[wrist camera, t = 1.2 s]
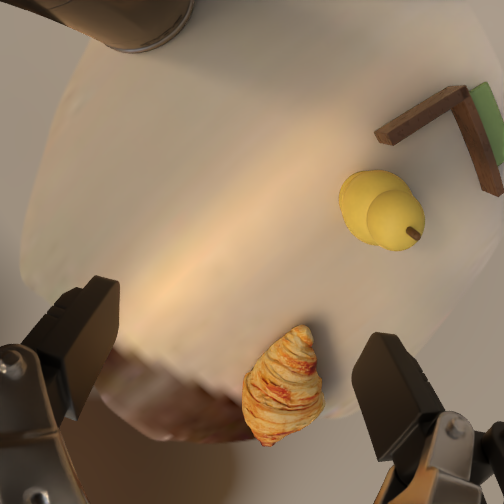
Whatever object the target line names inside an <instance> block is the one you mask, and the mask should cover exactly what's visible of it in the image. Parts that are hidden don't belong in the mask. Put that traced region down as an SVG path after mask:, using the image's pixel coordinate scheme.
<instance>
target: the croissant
mask: <svg viewBox="0 0 504 504" xmlns="http://www.w3.org/2000/svg"><path fill="white" fill-rule="evenodd" d="M312 345H313V337H312V334H311V331H310V329H309V328H308V327H306V326H305V325H299V326H296V327H294V328H292V330H291V331H290V332H288V333H286V335H285V336H284V337H282V338H281V339H279V340H278V341H276V342H275V343H274V344H273V345H272V346H271V347H270V348H269V349H268V350H267V351H266V352H265V353H264V354H263V355H262V356H261V357H260V358H259V359H258V361H257V363H256V365H255V366H254V368H253V370H252V372H248V373H247V374H246V375H245V377H244V381H243V391H242V411H243V414H244V417H245V421H246V423H247V425H248V426H249V427H250V428H251V430H252V432H253V434H254V436H255V438H256V439H258V440H259V441H260V442H261V445H262V446H269V447H271V446H273V445H274V444H275V443H276V442H277V441H280V440H281V439H282V438H284V437H285V436H286V435H289V434H291V433H294V432H296V431H300V430H301V429H303V428H304V427H306V426H308V425H309V424H311V422H312V421H314V420H315V419H316V418H317V417H318V416H319V414H320V413H321V412H322V411H323V409H324V407H325V400H324V394H323V393H322V391H321V387H322V378H320V377H319V376H318V373H317V371H316V365H317V358H316V355H315V354H314V350H313V349H312V347H311V346H312Z"/></svg>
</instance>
